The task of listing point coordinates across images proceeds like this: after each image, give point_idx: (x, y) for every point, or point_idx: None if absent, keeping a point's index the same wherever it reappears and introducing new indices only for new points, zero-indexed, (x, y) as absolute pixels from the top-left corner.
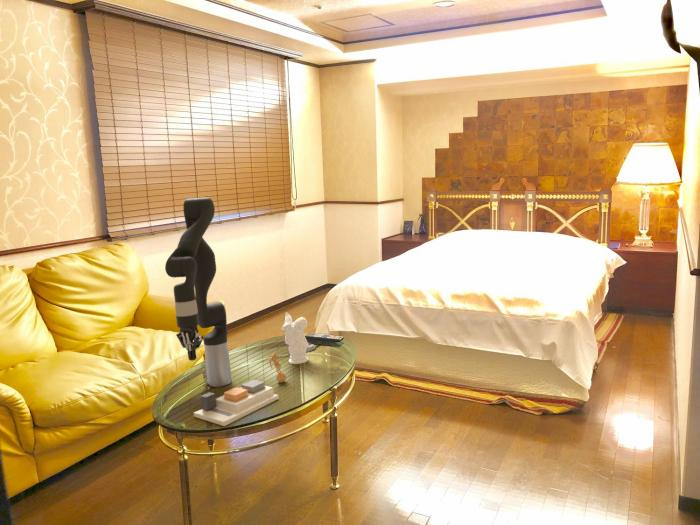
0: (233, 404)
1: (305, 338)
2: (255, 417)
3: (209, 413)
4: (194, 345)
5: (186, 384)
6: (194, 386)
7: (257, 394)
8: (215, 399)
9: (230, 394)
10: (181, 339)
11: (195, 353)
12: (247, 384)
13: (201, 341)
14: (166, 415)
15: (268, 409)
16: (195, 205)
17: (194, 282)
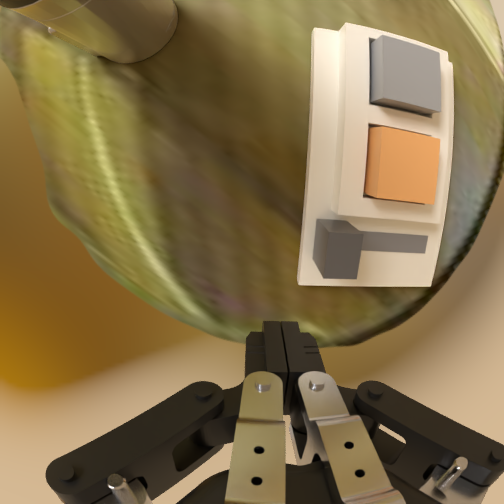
0: (429, 222)
1: None
2: (466, 202)
3: None
4: (393, 456)
5: (38, 105)
6: (73, 98)
7: (447, 120)
8: (354, 228)
9: (412, 201)
10: (164, 489)
11: (321, 362)
12: (403, 88)
13: (459, 429)
14: (199, 309)
15: (467, 142)
16: None
17: None
